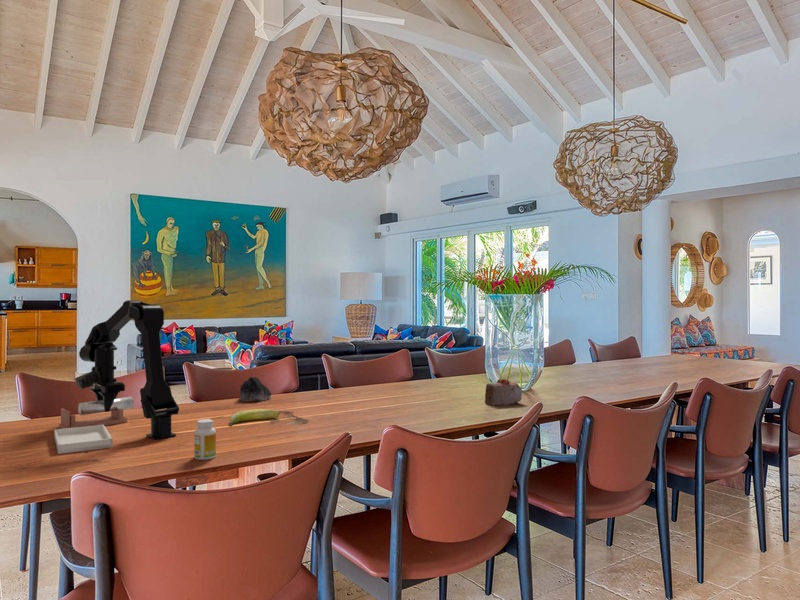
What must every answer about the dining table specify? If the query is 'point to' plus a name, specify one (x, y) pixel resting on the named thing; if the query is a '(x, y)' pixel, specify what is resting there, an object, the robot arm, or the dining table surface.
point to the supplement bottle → (205, 440)
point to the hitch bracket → (69, 420)
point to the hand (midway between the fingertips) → (104, 410)
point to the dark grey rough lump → (254, 390)
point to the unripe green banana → (262, 416)
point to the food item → (503, 393)
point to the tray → (82, 439)
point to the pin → (99, 406)
